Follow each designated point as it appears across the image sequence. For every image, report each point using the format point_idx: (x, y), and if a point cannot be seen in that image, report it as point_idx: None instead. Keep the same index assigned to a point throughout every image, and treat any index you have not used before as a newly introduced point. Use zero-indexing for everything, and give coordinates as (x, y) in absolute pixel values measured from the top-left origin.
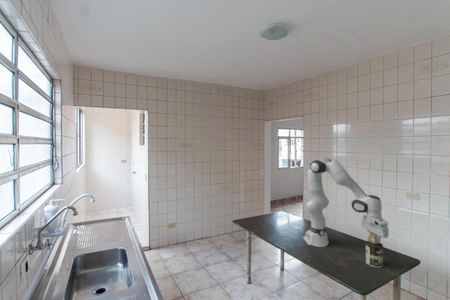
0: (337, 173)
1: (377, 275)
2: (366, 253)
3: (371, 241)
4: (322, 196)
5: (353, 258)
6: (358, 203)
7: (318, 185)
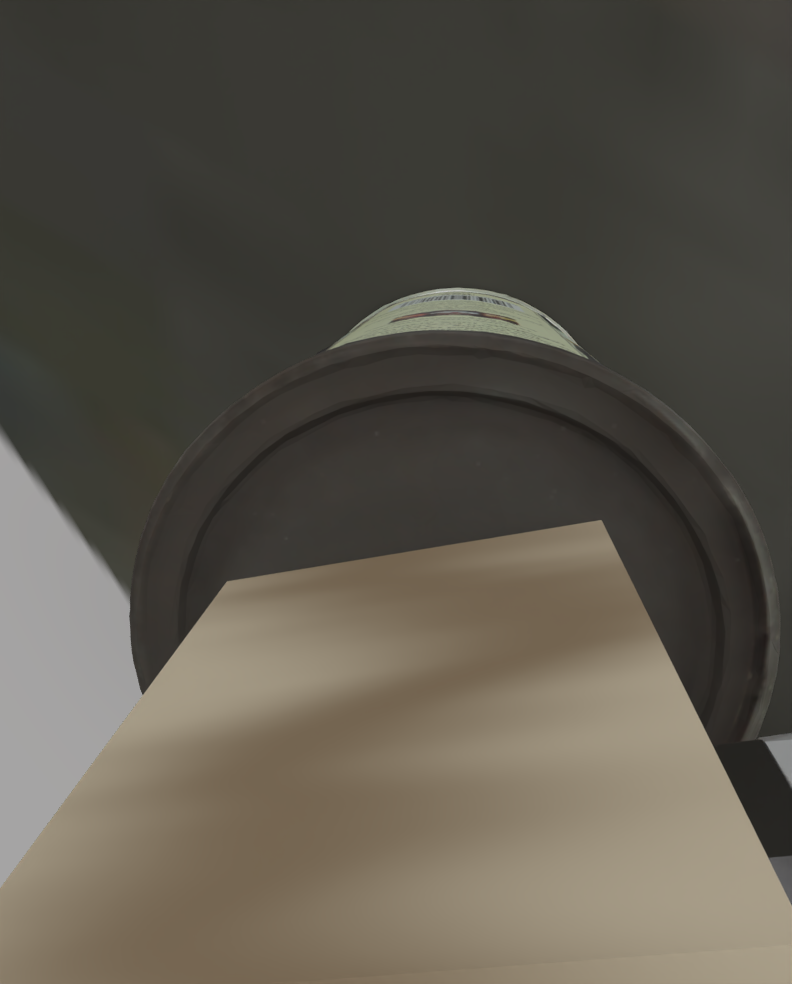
0: None
1: (33, 252)
2: (482, 309)
3: (362, 582)
4: None
5: (732, 96)
6: None
7: None
